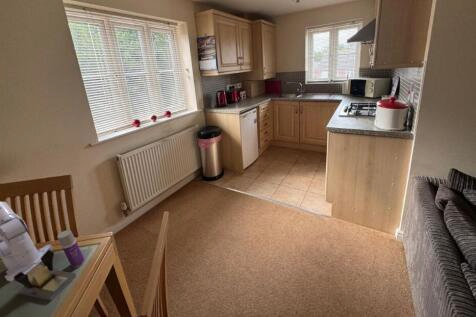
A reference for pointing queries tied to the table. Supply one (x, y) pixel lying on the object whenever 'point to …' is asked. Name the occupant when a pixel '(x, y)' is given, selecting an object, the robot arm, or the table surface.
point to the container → (71, 248)
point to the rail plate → (50, 286)
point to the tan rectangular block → (39, 276)
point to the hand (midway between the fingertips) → (40, 278)
